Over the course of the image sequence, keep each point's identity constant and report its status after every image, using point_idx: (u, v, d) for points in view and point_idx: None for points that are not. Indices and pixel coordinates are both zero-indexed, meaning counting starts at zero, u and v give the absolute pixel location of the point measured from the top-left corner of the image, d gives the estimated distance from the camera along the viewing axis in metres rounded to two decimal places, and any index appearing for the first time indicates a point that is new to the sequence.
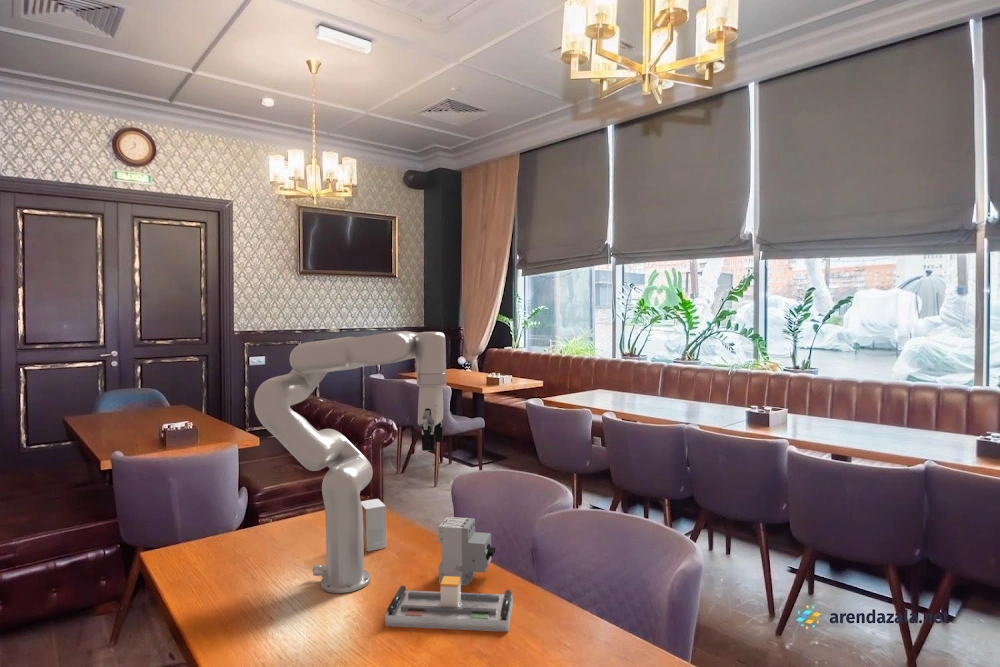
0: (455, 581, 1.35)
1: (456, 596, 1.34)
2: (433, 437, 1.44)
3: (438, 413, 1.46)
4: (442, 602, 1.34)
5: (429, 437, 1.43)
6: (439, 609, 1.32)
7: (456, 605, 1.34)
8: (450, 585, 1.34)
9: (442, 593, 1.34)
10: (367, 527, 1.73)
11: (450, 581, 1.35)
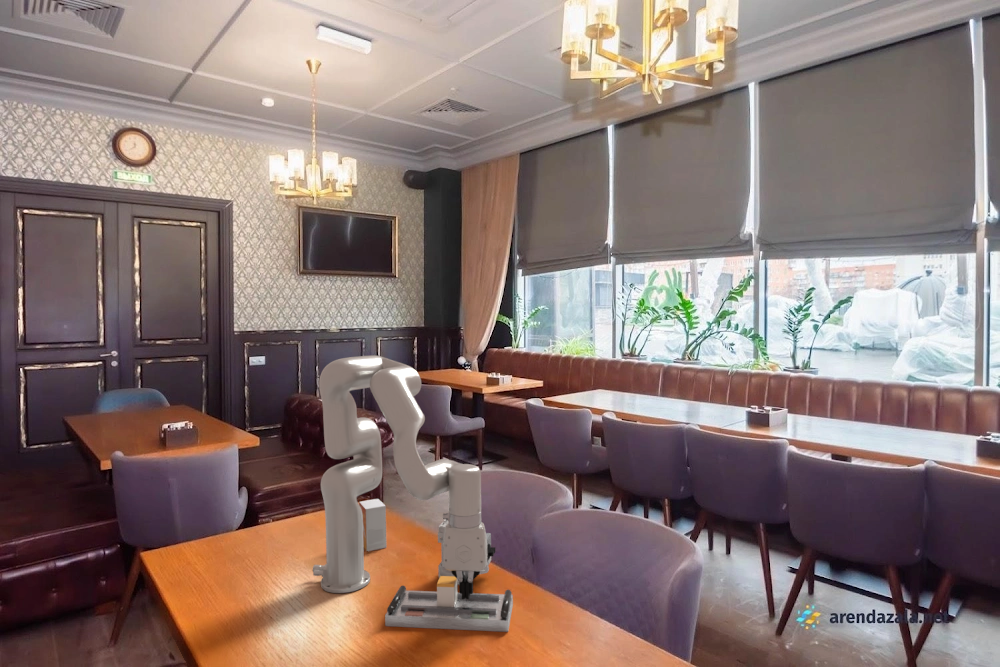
0: (451, 581, 1.35)
1: (452, 596, 1.34)
2: None
3: None
4: (438, 602, 1.34)
5: (472, 581, 1.36)
6: (439, 609, 1.32)
7: (452, 605, 1.34)
8: (446, 585, 1.34)
9: (438, 593, 1.34)
10: (367, 527, 1.73)
11: (446, 581, 1.35)
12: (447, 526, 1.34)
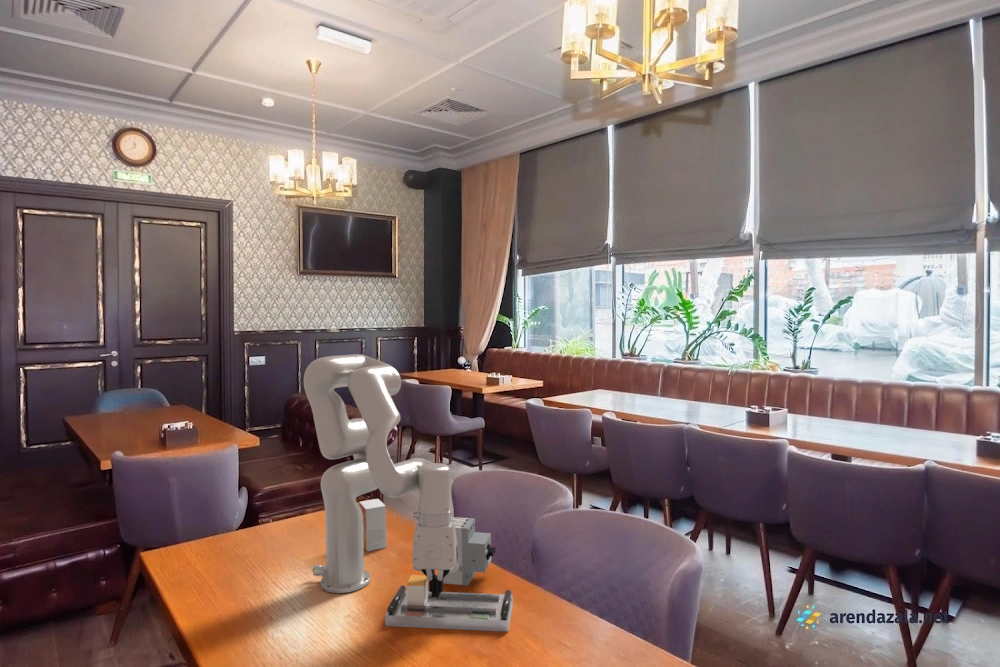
0: (422, 580, 1.36)
1: (422, 595, 1.34)
2: None
3: None
4: (409, 601, 1.35)
5: (442, 579, 1.36)
6: (439, 609, 1.32)
7: (422, 604, 1.34)
8: (416, 584, 1.35)
9: (409, 592, 1.35)
10: (367, 527, 1.73)
11: (417, 580, 1.36)
12: (417, 525, 1.35)
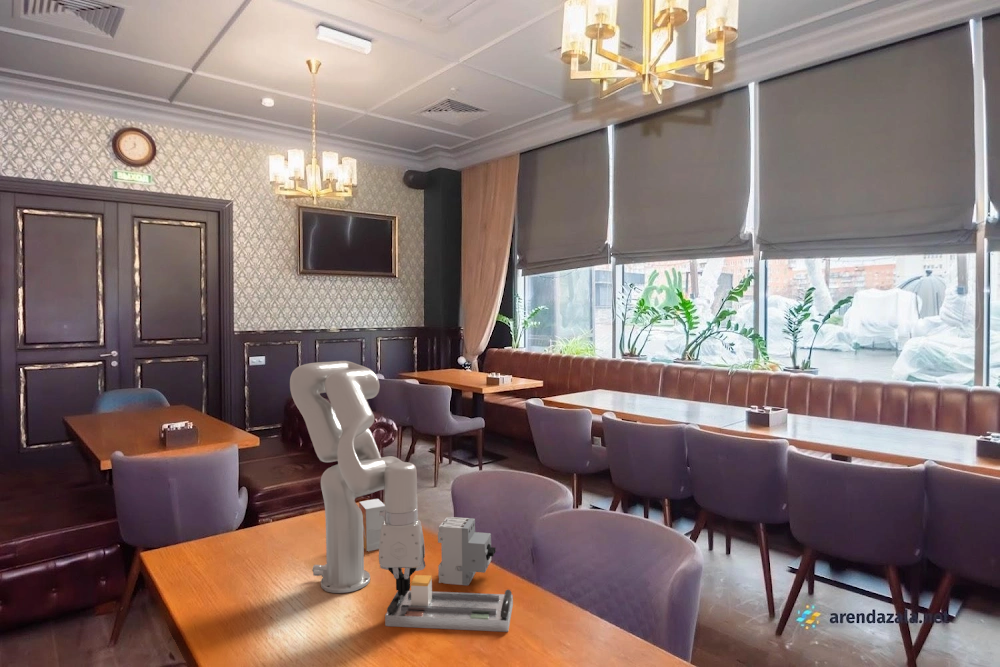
0: (426, 580, 1.36)
1: (426, 595, 1.34)
2: None
3: None
4: (412, 601, 1.35)
5: (409, 578, 1.37)
6: (439, 609, 1.32)
7: (426, 604, 1.34)
8: (420, 584, 1.34)
9: (412, 592, 1.35)
10: (367, 527, 1.73)
11: (421, 580, 1.36)
12: (383, 523, 1.36)
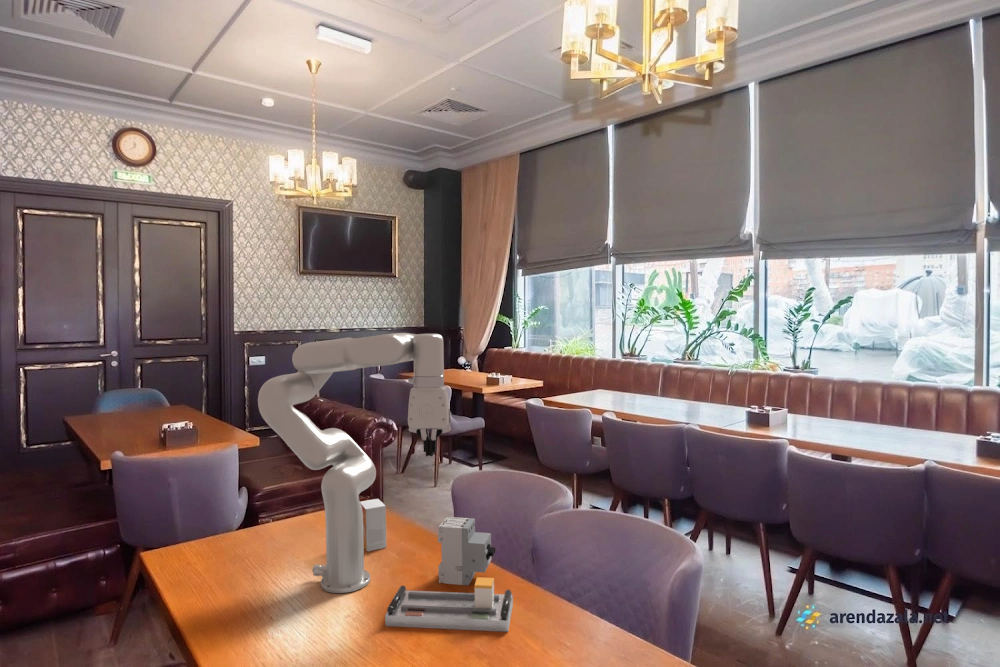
0: (489, 582, 1.34)
1: (490, 597, 1.33)
2: None
3: None
4: (476, 603, 1.33)
5: None
6: (439, 609, 1.32)
7: (490, 606, 1.33)
8: (484, 586, 1.33)
9: (476, 594, 1.33)
10: (367, 527, 1.73)
11: (484, 582, 1.34)
12: (412, 388, 1.45)
